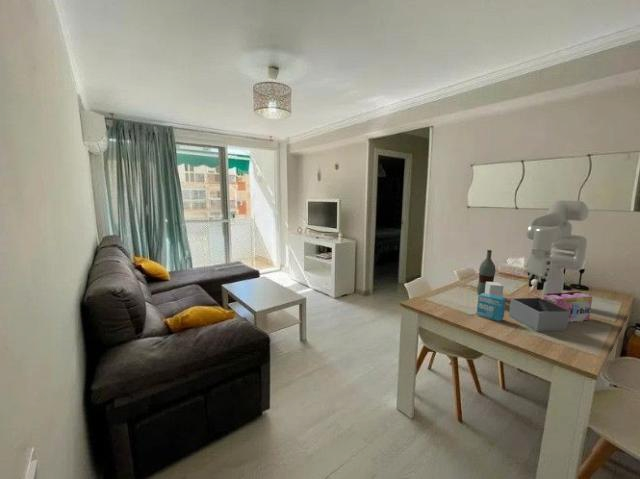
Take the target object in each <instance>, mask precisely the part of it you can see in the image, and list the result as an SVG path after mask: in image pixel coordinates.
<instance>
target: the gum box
mask: <svg viewBox="0 0 640 479" xmlns="http://www.w3.org/2000/svg"><path fill="white" fill-rule="evenodd" d="M543 298H545V299H547V300H549V301H551V302H554V303H556V304H558V305H560V306H562V307H565V308H567V309H569V310H571V311H570V312H569V318H568V323H574V322H573V321H577V322H584V321H583V320H589V321H590V318H591V317H590V315H591V309H592V308H591V307H592V302H593V296H592V295H590V296H589V295H587V294H584V293H582V292H581V291H568V292H562V293H550V294H544V296H543ZM549 303H550V302H549ZM556 306H557V305H556ZM563 309H564V308H563ZM565 310H566V309H565Z"/></svg>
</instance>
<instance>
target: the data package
mask: <svg viewBox="0 0 640 479" xmlns="http://www.w3.org/2000/svg"><path fill="white" fill-rule="evenodd" d="M476 305H477V306H476V315H477V316H479V317H480V318H481V317H482V318H485V319H490V320H492V321H496V322H501V321H502V320H503V319H504V317H505V308H506V299H505V298H504V297H503V296H502V297H498V296H494V295H489V294H485V293H482V294H481V295H478V297H477V304H476Z"/></svg>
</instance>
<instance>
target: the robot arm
mask: <svg viewBox="0 0 640 479" xmlns="http://www.w3.org/2000/svg"><path fill="white" fill-rule="evenodd" d="M548 208H549V209H548V210H547V213H546V214H543V215H541V216H539V217H536V218H534V219H533V220H532V221H531V222H530V224H529V225H528V227H527V230H526V233H525V234H526V238H527V239H529V240H532V245H531V246H532V247H531V253H530V255H529V258H528V261H527V266H526V269H525V273H527V276H528V279H529V280H528V287H530V288H532V284H531V281H532V280H533V279H536V277H537V276H538V280H539V282H537V287H535V290H537V291H541V295H539V296H540V297H542V298H543V296H544V294H550V293H563V289H564V284H565V278H566V277H565V276H566V275H565V272H564V271H563V270H562V269H565V270H571V271H581V270H582V269H583V267H584V262H585V257H586V253H587V252H586V251H587V245H588V242H587V238H586V237H585V236H582V235H575V234H572V229H573V225H572V223H571V222H570V221H575V222H583V221H585V220H586V219H588V217H589V211H590V210H589V208H588V206H587V204H586V203H585V202H584V201H581V200H556V201H554V202H552V203H551V205H550V207H548ZM552 249H555V251H553V250H552ZM556 250H561V251H556ZM563 251H568V252H563ZM571 252H573V253H571ZM540 299H541V298H540ZM542 300H543V299H542Z"/></svg>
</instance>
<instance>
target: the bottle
mask: <svg viewBox="0 0 640 479" xmlns="http://www.w3.org/2000/svg"><path fill="white" fill-rule="evenodd" d="M478 268H479V270H478V274H479V276H478V283H477V285H476V286H477V287H476V292H477V295H478V296H479V295H481V294H482V293H485V285H486V282H494V281H495V276H496V265H495V263H494V262H493V260H492V250H491V249H487V252H486V258H485V259H484V260H483V261H482V262H481V263H480V265H479V267H478Z"/></svg>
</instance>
